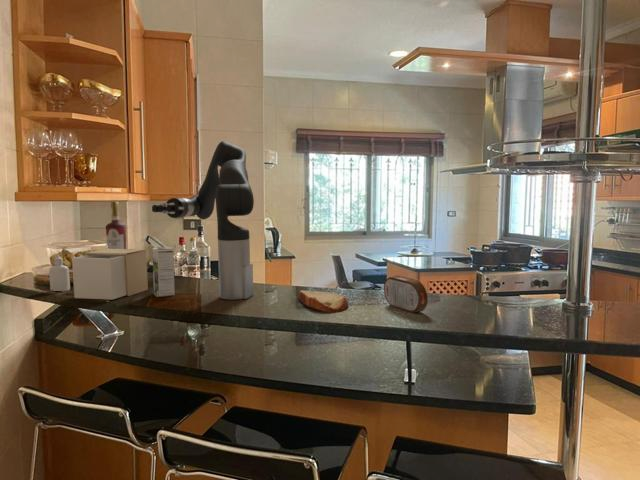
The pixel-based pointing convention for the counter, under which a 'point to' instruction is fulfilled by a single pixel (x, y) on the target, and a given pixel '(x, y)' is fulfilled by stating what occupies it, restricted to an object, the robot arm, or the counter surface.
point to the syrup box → (163, 271)
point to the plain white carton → (99, 276)
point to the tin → (405, 293)
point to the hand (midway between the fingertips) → (154, 208)
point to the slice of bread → (323, 301)
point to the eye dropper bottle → (59, 276)
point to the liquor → (116, 230)
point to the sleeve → (131, 267)
